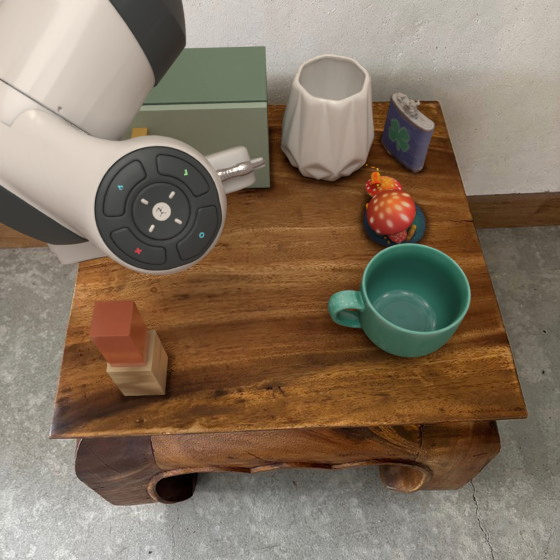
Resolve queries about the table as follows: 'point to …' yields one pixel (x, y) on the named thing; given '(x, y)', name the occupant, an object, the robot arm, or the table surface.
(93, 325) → the block
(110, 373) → the stand
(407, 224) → the figurine
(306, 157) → the vase
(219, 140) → the door
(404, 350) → the mug
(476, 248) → the table surface
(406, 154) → the flask
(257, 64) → the cupboard
